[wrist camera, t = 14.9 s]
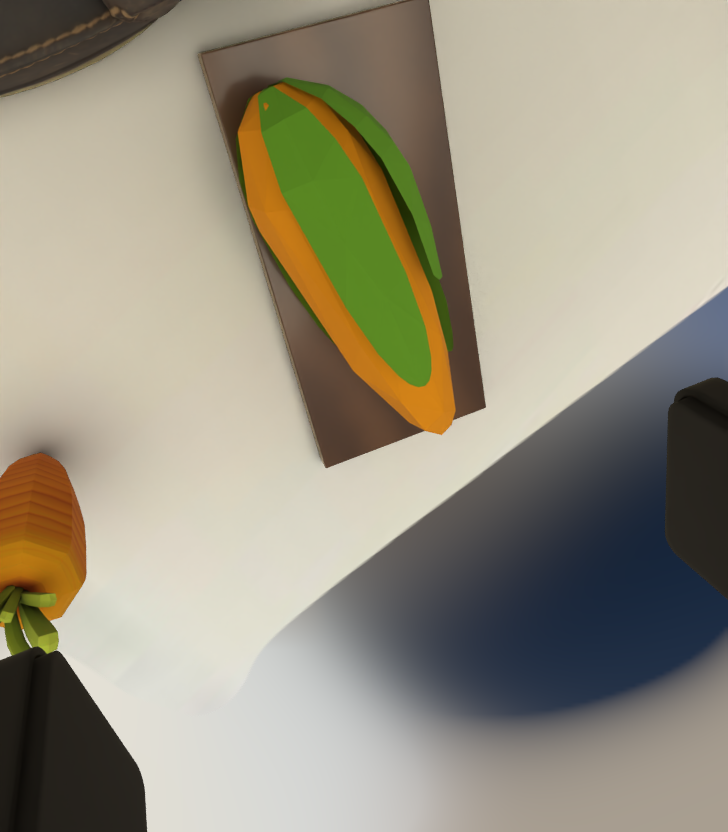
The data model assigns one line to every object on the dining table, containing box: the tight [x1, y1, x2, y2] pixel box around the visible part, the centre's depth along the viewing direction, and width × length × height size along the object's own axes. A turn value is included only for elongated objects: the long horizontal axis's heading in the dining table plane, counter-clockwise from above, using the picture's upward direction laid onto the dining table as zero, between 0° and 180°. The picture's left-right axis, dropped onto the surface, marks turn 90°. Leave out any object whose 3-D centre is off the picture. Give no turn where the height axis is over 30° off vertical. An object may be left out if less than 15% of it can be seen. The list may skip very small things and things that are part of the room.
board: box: [198, 0, 486, 468], centre depth 37 cm, size 11×23×1 cm, turn 12°
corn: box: [236, 77, 456, 435], centre depth 33 cm, size 7×8×20 cm
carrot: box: [0, 453, 86, 655], centre depth 30 cm, size 5×5×15 cm
